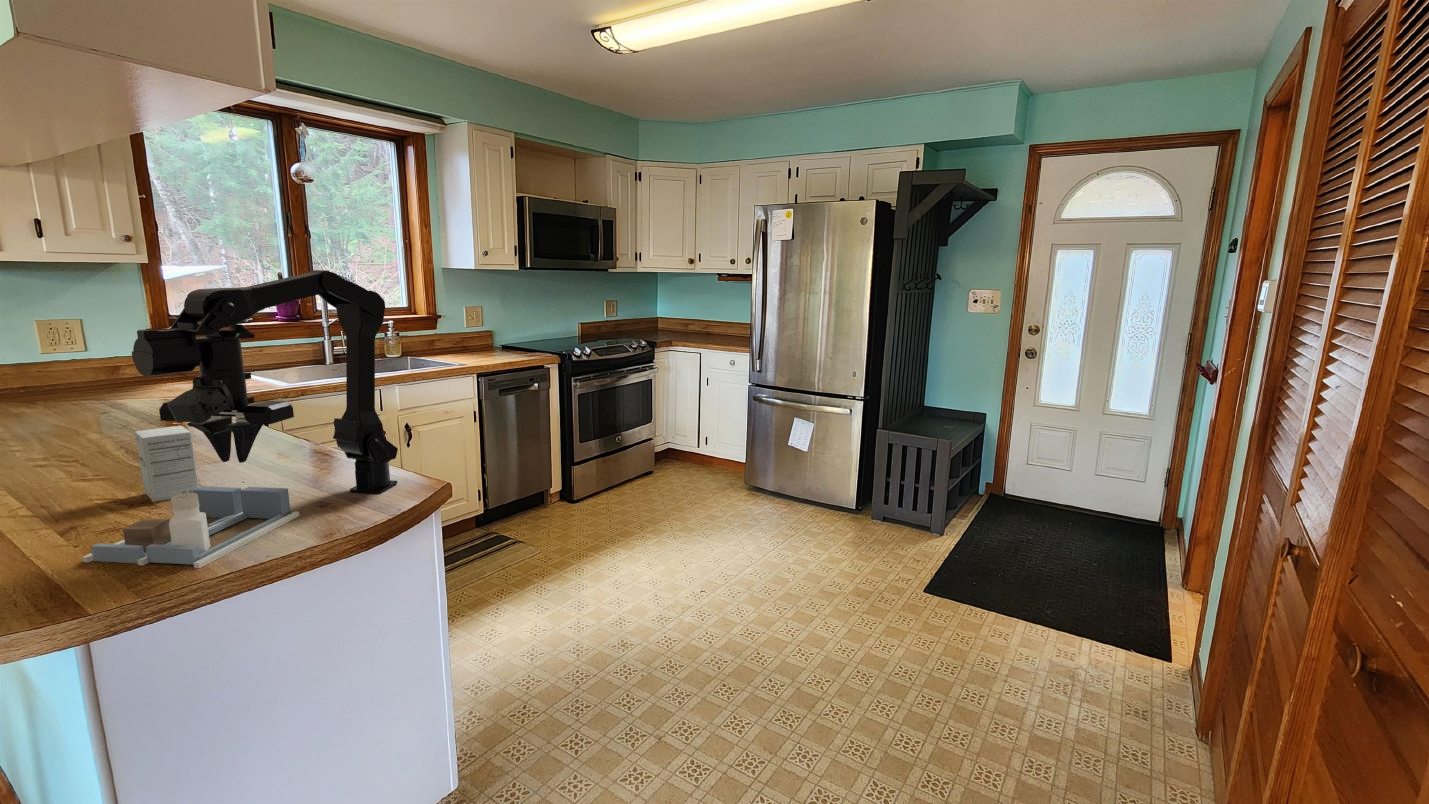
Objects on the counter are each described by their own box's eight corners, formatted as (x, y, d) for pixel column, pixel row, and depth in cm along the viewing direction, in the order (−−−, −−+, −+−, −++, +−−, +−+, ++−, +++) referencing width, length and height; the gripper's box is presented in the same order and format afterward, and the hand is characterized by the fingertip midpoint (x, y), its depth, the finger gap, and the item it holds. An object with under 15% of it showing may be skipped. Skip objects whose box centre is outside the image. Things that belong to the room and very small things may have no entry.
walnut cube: (146, 542, 103) (142, 519, 102) (173, 542, 104) (169, 518, 103) (126, 553, 99) (122, 529, 98) (154, 552, 100) (150, 528, 99)
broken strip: (206, 512, 116) (202, 486, 115) (244, 514, 115) (241, 487, 114) (93, 560, 96) (87, 529, 95) (139, 563, 96) (133, 531, 95)
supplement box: (143, 493, 125) (133, 430, 122) (191, 485, 130) (182, 424, 128) (151, 503, 120) (140, 437, 117) (200, 493, 125) (191, 430, 123)
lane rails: (202, 511, 116) (201, 507, 116) (299, 515, 115) (298, 511, 115) (82, 562, 96) (81, 557, 96) (199, 568, 95) (198, 563, 94)
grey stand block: (252, 513, 115) (248, 486, 114) (290, 515, 115) (287, 488, 114) (148, 562, 96) (143, 530, 95) (194, 564, 95) (189, 532, 94)
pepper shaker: (179, 552, 100) (170, 494, 98) (211, 547, 102) (203, 490, 100) (173, 562, 96) (164, 502, 94) (207, 557, 98) (198, 498, 96)
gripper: (118, 374, 96) (134, 474, 99) (237, 378, 95) (249, 479, 98) (184, 364, 107) (196, 454, 110) (291, 367, 106) (301, 458, 109)
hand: (234, 461), depth 106 cm, fingers open, 3 cm apart
